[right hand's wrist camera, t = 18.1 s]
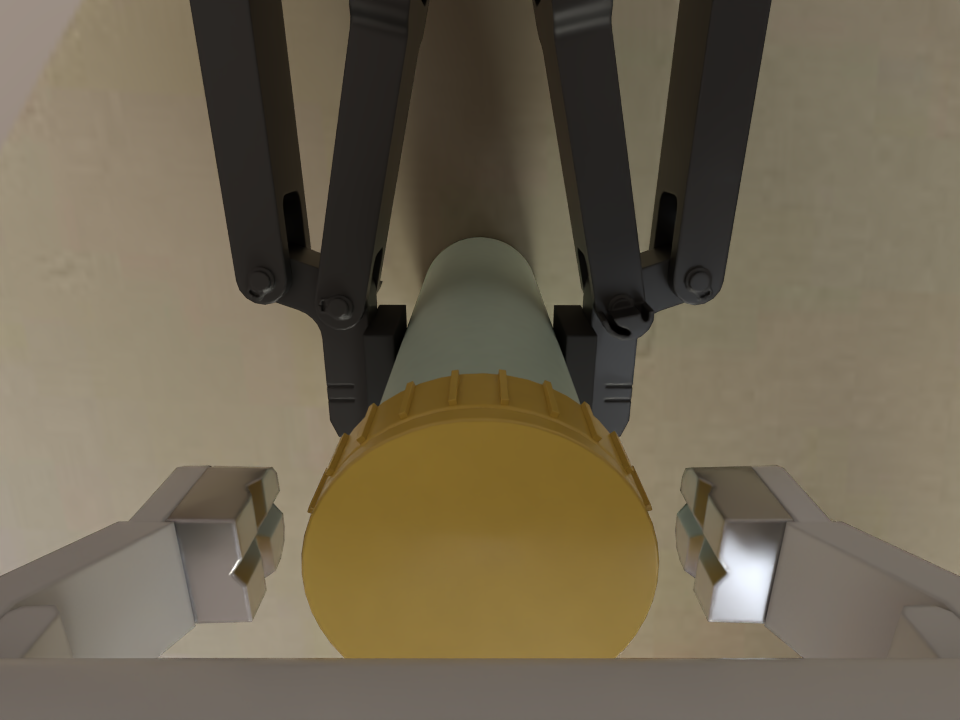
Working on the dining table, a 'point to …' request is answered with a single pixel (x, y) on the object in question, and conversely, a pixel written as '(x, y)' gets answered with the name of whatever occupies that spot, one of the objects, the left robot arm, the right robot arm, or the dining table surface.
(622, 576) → the lid
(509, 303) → the green bottle
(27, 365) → the dining table surface
